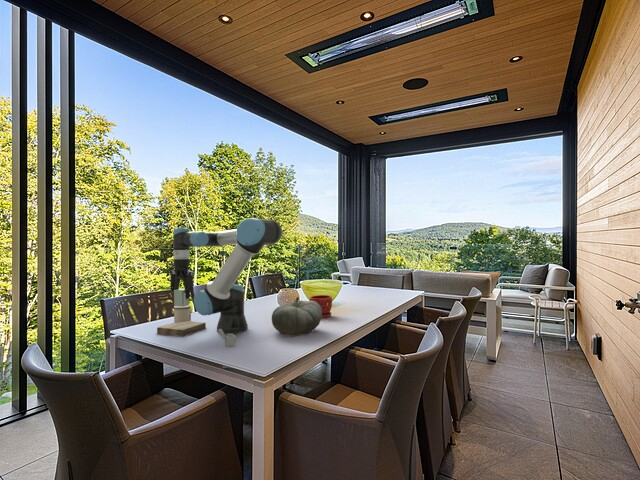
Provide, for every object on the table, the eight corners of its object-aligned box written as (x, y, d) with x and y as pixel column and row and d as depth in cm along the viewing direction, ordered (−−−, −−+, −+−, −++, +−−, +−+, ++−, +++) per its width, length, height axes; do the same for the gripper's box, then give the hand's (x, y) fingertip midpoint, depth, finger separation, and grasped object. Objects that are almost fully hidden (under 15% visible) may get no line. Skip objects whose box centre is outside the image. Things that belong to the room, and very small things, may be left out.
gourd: (334, 324, 172) (328, 290, 171) (306, 345, 151) (298, 307, 150) (295, 323, 186) (289, 292, 185) (264, 342, 165) (257, 307, 164)
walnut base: (205, 328, 178) (205, 322, 178) (183, 336, 163) (182, 330, 163) (181, 326, 184) (181, 320, 184) (157, 333, 169) (157, 327, 169)
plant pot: (318, 313, 213) (318, 294, 213) (336, 316, 206) (336, 295, 206) (305, 317, 203) (305, 296, 203) (323, 320, 195) (323, 298, 195)
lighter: (234, 345, 148) (234, 326, 148) (235, 346, 147) (235, 327, 147) (217, 347, 144) (217, 328, 145) (219, 348, 143) (218, 329, 143)
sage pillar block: (189, 304, 175) (189, 289, 175) (182, 306, 170) (182, 290, 170) (181, 304, 177) (181, 288, 177) (174, 305, 172) (174, 289, 172)
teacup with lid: (193, 322, 191) (193, 301, 192) (176, 325, 186) (176, 303, 186) (187, 319, 201) (187, 299, 201) (170, 321, 196) (170, 300, 196)
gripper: (161, 258, 173) (162, 305, 173) (190, 259, 167) (190, 307, 167) (173, 258, 180) (173, 302, 180) (201, 258, 174) (201, 304, 174)
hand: (181, 304), depth 173 cm, fingers closed on sage pillar block, 5 cm apart
